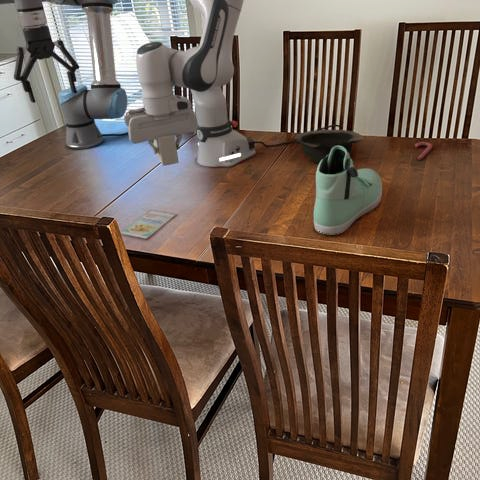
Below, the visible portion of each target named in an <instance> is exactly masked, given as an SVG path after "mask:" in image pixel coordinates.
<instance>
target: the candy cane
mask: <svg viewBox="0 0 480 480" xmlns="http://www.w3.org/2000/svg"><path fill="white" fill-rule="evenodd" d="M433 146H434V145H433V144H432V143H430V142H428V141H420V142H419V141H418V142H416V143H415V144H414V148H415V149H418V148H419V147H426V148H425V149H424V150H423V151H422V152H421V153H420V154H419V155H418V156H417V159H418V161H420V160H423V158H424V157H425V156H426V155H428V153H429V152H430V151H431V150H432V149H433Z"/></svg>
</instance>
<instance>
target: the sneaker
mask: <svg viewBox="0 0 480 480" xmlns="http://www.w3.org/2000/svg"><path fill="white" fill-rule="evenodd" d="M317 165H318V166H317V168H316V172H315V201H314V207H313V225H314V229H315V231H316V232H318V233H320V234H323V235H326V236H327V235H328V236H336V235H339V234H342V233H344V232H345V231H347V230H348V229H349V228H350V227H351V226H352V225H353V224H354V222H356V221H357V220H358V219H359V218H360V217H362V216H363V215H365V214H367V213H370V212H372V210H374V209H375V208H377V207H378V205H380V203H381V200H382V196H383V184H382V183H383V182H382V179H381V176H380V175H379V173H378V172H377V171H376V170H374V169H372V168H367V167H365V168H358V169H357V168H355V167H354V161H353V159H352V158H351V155H350V156H349V153H348V152H347V150H346V149H345V148H344V147H342V146H334V147H333V148H332V149H331V152H330V154H329V155H327V156H326V157H325V158H324V159H322V160H321V161H320V163H318V164H317ZM343 230H344V231H343ZM319 231H320V232H319ZM322 232H323V233H322ZM339 232H340V233H339ZM326 233H327V234H326ZM328 233H329V234H328ZM335 233H337V234H335Z"/></svg>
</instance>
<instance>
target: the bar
mask: <svg viewBox="0 0 480 480" xmlns="http://www.w3.org/2000/svg"><path fill="white" fill-rule="evenodd" d="M152 144H153V145H154V146H158V148H159V153H158V154H155V156H156V158H157V159H158V160H159V162H160V163H161V165H162V167H165V166H169V165H170V166H171V165H174V164H179V162H180V161H179V155H178V150H177V148H176V136H174V135H173V134H172V135H167V136H162V137H157V139H155V140H154V143H152ZM149 146H150V147H151V149H152V151H153V152H154V150H153V148H152V146H151V145H150V144H149Z"/></svg>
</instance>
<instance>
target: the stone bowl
mask: <svg viewBox="0 0 480 480" xmlns="http://www.w3.org/2000/svg"><path fill="white" fill-rule="evenodd" d="M363 139H365V137H364V136H363V135H362V134H360V133H358V132H355V131H352V130H346V129H323V130H318V131H317V129H315V130H308V131H304V132H299V133H297V134H295V135H294V137H293V138H292V141H296V142H295V143H298V144H301V149H302V152H303V153H304V155H305V156H307V157H308V158H309V160H310V162H311V163H313V164H319V163H320V161H321V160H322V159H324V158H325V157H326V156H327V155H329V154H330V152H331V149H332V148H333V147H334V146H342V147H344V148H345V149H346V150H347V152H348V153H349V156H350V157H351V154H352V150H353V144H355V143H359V142H360V141H362V140H363Z"/></svg>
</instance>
